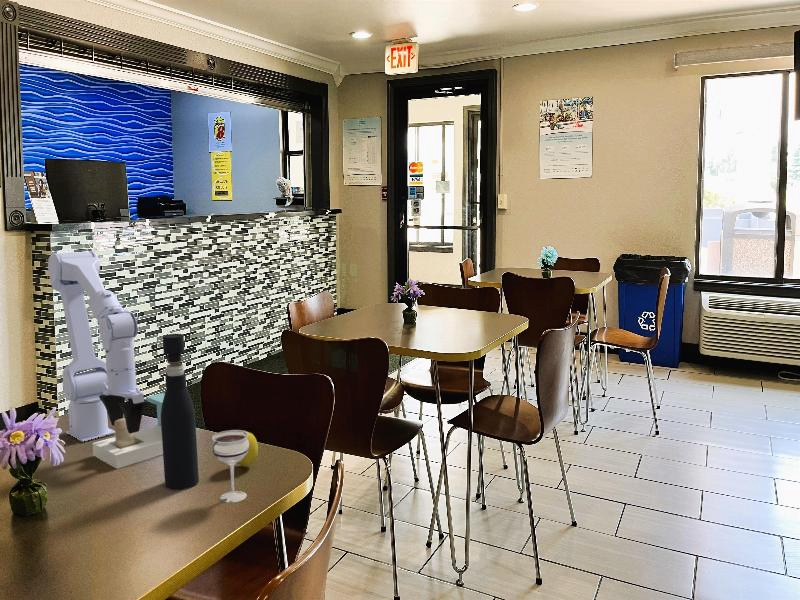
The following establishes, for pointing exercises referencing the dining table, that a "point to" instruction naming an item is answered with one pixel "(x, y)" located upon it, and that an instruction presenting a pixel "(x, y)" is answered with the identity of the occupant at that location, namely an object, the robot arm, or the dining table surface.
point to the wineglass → (231, 456)
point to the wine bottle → (178, 421)
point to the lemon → (250, 451)
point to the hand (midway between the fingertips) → (125, 428)
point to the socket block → (145, 443)
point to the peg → (123, 435)
